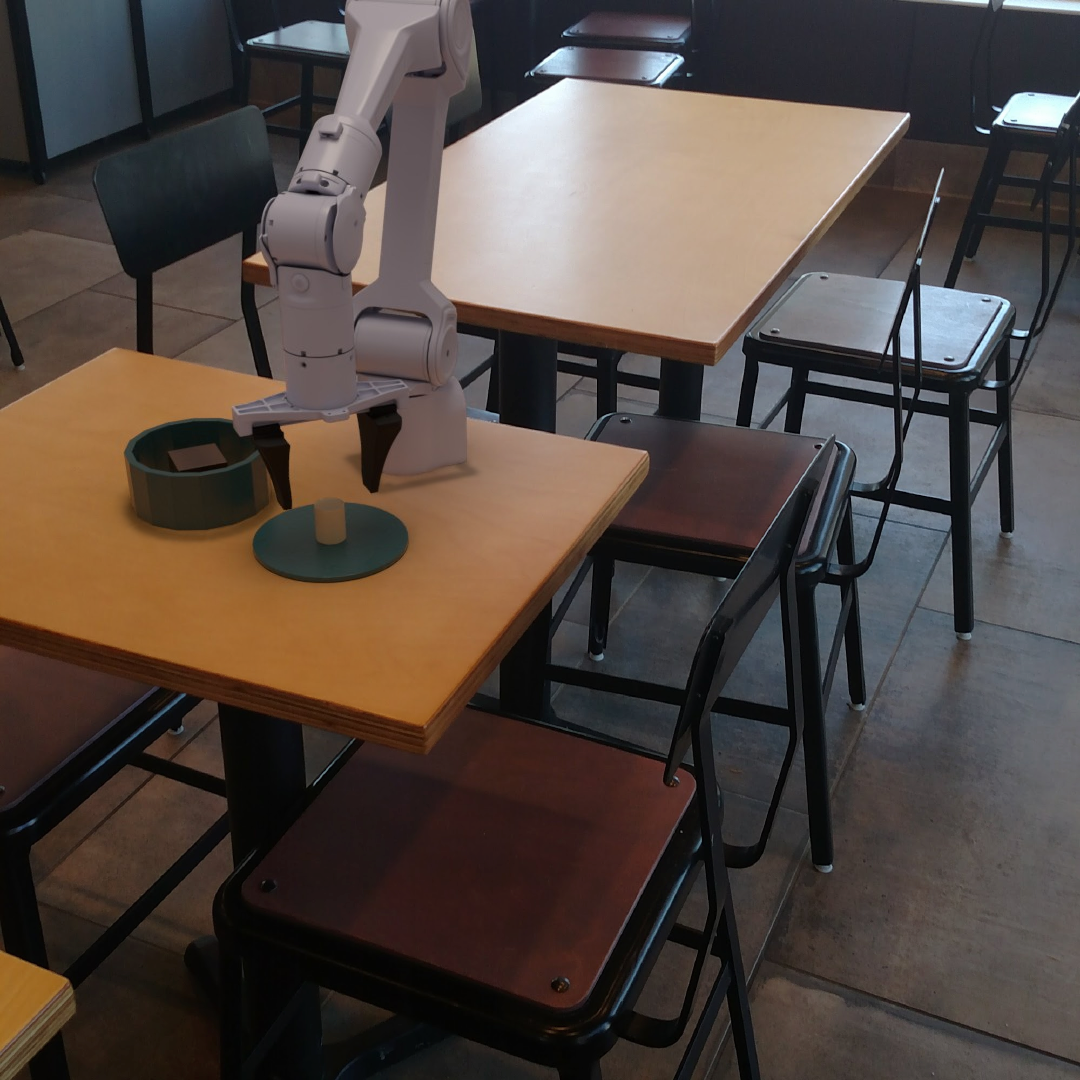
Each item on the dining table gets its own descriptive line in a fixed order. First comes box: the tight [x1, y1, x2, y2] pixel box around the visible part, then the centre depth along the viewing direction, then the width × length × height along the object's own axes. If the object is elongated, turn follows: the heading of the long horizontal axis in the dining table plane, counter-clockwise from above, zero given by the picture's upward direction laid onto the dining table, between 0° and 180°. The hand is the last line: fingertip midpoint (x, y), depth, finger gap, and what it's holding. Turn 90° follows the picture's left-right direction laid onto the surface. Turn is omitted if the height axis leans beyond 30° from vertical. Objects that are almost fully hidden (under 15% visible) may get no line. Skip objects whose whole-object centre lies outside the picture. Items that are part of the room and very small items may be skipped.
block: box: [167, 443, 228, 473], centre depth 115 cm, size 4×4×4 cm
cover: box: [252, 496, 410, 583], centre depth 108 cm, size 13×13×4 cm
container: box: [123, 417, 273, 531], centre depth 114 cm, size 12×12×6 cm
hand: (328, 496), depth 107 cm, fingers open, 7 cm apart
